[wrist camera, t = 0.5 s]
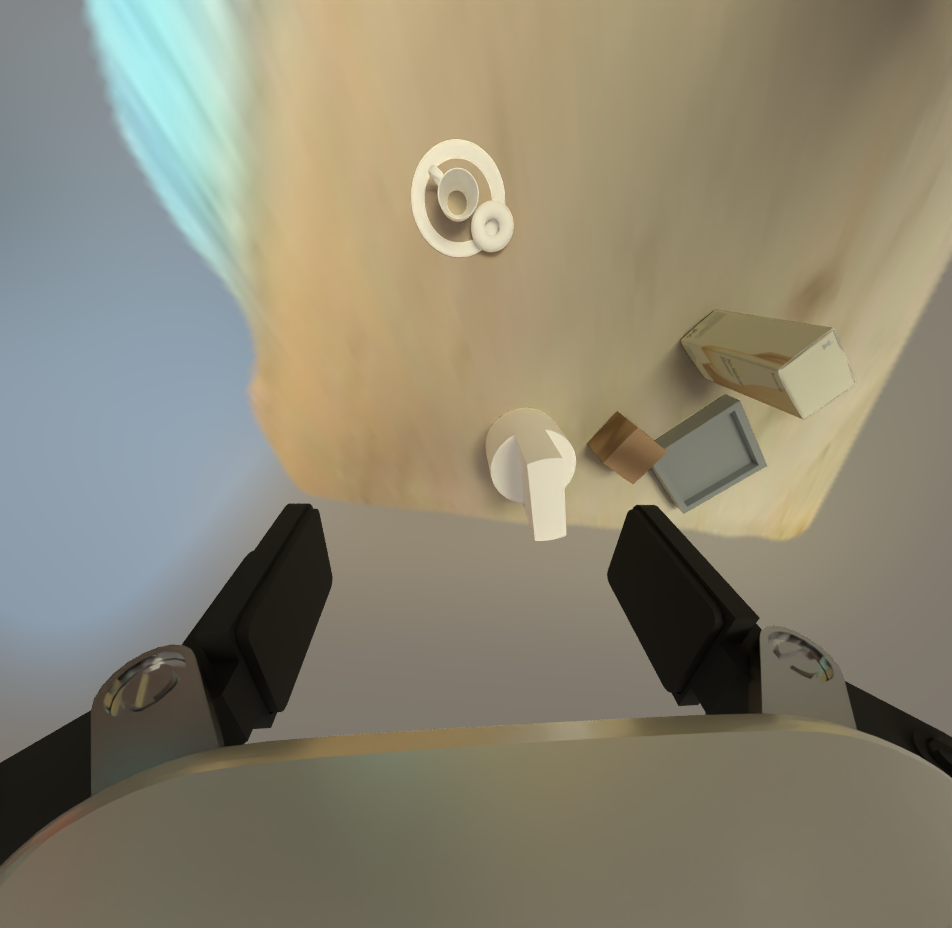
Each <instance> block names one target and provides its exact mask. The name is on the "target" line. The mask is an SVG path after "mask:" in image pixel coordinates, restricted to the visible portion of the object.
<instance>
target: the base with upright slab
mask: <svg viewBox="0 0 952 928" xmlns="http://www.w3.org/2000/svg"><path fill="white" fill-rule="evenodd" d="M485 446H486V455H487V459H488V464H489V469H490V474H491V478H492V481H493V484H494V486H495V487H496V489H497V490H498V491H499V493H501V494H502V495H503V496H505V497H506V498H507V499H510V500H512V501H515V502H519V503H523V505H524V508H525V511H526V514H527V517H528V520H529V523H530V526H531V529H532V532H533V536H534V539H535V541H546V540H553V539H557V538H560V537H563V536H566V516H565V492H564V488H565V487H566V486H567V485H568V483H569V482H570V481H571V479H572V476H573V474H574V472H575V467H576V457H575V451H574V449H573V448H572V446H571V444H570V442H569V441H568V439H567V438H566V437H565V435H564V434H563V432H562V431H561V430H560V428H559V427H558V425H557V424H556V423H555V421H554V420H553V419H552V418H551V417H550V416H549V415H548V414H546V413H545V412H543V411H541V410H538V409H534V408H518V409H515V410H511V411H508V412H507V413H505V414H503V415H502V416H500V417H499V418H498V419H497V420H496V421H495V422H494V423H493V424H492V426H491V428H490V429H489V431H488V433H487V437H486V441H485Z"/></svg>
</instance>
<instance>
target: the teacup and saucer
mask: <svg viewBox="0 0 952 928" xmlns="http://www.w3.org/2000/svg"><path fill="white" fill-rule="evenodd" d="M455 158H459V159H464V160H467V161H470V162H471V163H473V164H474V165H476V166H477V167H478V168H479V169H480V170H481V171H482V173H483V174H484V176H485V178H486V179H487V182H488V184H489V187H490V191H491V198H492V200H491V201H487V202H485V203H483V204H482V205H480V206H479V207H478V208H477V210H476V211H475V209H476V207H477V204H478V199H479V190H478V185H477V183H476V180H475V178H474V177H473V176H472V174H471V173H470V172H468V171H467V170H465V169H463V168H452V169H450V170H448V171H447V172H446V173H445V174H443V173H442V172H441V171H440V170H439V169H438V168H437V166H438V165H440V164H441V163H443V162H444V161H446V160H449V159H455ZM430 176H431V178H432V179H433V180H434V182H435V183H436V184H437V185H438V201H439V204H440V207H441V209H442V211H443V212H444V214H445V215H446V216H447V217H448V218H449V219H451V220H453V221H456V222H461V221H464V220H466V219H467V218H469V217H470V216H471V215H472V214H473V212H474V211H475V213H474V215H473V217H472V221H471V233H472V237H473V239H472V240H469V241H467V242H460V243H458V242H452V241H449V240H447V239H445V238H443V237H442V236H441V235H439V234H438V233H437V232H436V231H435V229H434V228H433V227H432V225H431V223H430V221H429V219H428V216H427V213H426V209H425V200H424V198H425V189H426V185H427V182H428V179H429V177H430ZM453 191H460V192H462V193H463V194H464V195H465V197H466V200H467V207H466V210H465V211H464V213H463V214H461V215H454V214H452V213H451V212H450V210H449V209H448V205H447V200H448V197H449V195H450V194H451V193H452V192H453ZM411 206H412V212H413V216H414V219H415V222H416V224H417V227H418V229H419V231H420V232H421V234H422V236H423V237H424V238H425V240H426V241H427V242H428V243H429V244H430V245H431V246H432V247H433V248H435V249H436V250H437V251H439V252H441V253H443V254H445V255H448V256H451V257H468V256H472V255H474V254H477V253H478V252H480V251H482V250H484V251H486V252H497V251H499V250H501V249H503V248H504V247H505V246H506V245H507V244H508V243H509V241H510V239H511V237H512V235H513V230H514V221H513V217H512V214H511V212H510V210H509V209H508V207H507V206H506V205H505V190H504V185H503V181H502V177H501V175H500V172H499V170H498V168H497V166H496V164H495V163H494V161H493V160H492V158H491V157H490V156H489V155H488V154H487V152H485V151H484V150H483V149H482V148H481V147H479V146H478V145H476V144H474V143H472V142H469V141H466V140H461V139H451V140H446V141H443V142H441V143H439V144H437V145H435V146H434V147H432V148H431V149H430V150H429V151H428V152H427V153H426V154H425V155H424V157H423V158H422V159H421V161H420V163H419V164H418V166H417V169H416V171H415V174H414V177H413V181H412V187H411ZM487 221H488V222H487ZM486 222H487V224H486ZM485 225H486V226H485ZM498 230H499V231H498ZM497 232H498V233H497Z"/></svg>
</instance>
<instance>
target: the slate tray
mask: <svg viewBox="0 0 952 928" xmlns="http://www.w3.org/2000/svg"><path fill="white" fill-rule="evenodd" d="M655 442H656V443H658V444H659V445H660V446H661V447H662V448H664V449H665V450H666V451H667V453H666V454H665V455H664V456H663V457H662V458H661V459H660V460H659V461H657V462H656V463H655V464H654V465H653V466H652V467H651V469H652V470H653V472H654V474H655V475H656V477H657V478H658V480H659V481H660V483H661V484H662V486H663V488H664V489H665V491H666V492H667V494H668V495H669V497H670V498H671V500H672V501H673V503H674V504H675V505H676V506H677V507H678V508H679V509H680V511H681V512H682V513H683V514H684V513H686V512H688V511H689V510H691V509H693V508H695V507H696V506H698V505H700V504H702V503H703V502H705V501H707V500H709V499H710V498H712V497H714V496H715V495H717V494H719V493H721V492H722V491H724V490H726V489H728V488H729V487H731V486H733V485H735V484H736V483H738V482H740V481H742V480H743V479H745V478H747V477H748V476H750V475H752V474H754V473H755V472H757V471H759V470H761V469H762V468H764V467H766V466H767V464H766V462H765V460H764V457H763V455H762V452H761V450H760V448H759V445H758V443H757V441H756V438H755V436H754V433H753V431H752V429H751V426H750V424H749V421H748V419H747V417H746V414H745V412H744V410H743V407H742V405H741V402H740V401H739V400H737V399H735V398H733V397H730V396H728V395H726V394H725V395H724V396H722V397H721V398H719V399H718V400H716V401H715V402H713V403H712V404H710V405H709V406H707V407H705V408H704V409H702V410H701V411H699V412H698V413H696V414H695V415H693V416H692V417H690V418H689V419H687V420H686V421H684V422H683V423H681V424H680V425H678V426H676V427H675V428H673V429H672V430H670V431H669V432H667V433H666V434H664V435H663V436H661V437H660V438H658V439H657V440H655Z"/></svg>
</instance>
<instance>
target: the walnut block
mask: <svg viewBox="0 0 952 928" xmlns="http://www.w3.org/2000/svg"><path fill="white" fill-rule="evenodd" d="M587 444H588V445H589V447H590V448H591V449H592V450H593V452H594V453H595V454H596V455H597V457H598V458H599V459H600V460H601V462H602V463H603V464H605V465H606V466H607V467H609V468H610V469H612V470H613V471H615V472H616V473H617V474H619V475H620V476H622V477H623V478H625V479H626V480H627V481H629V482H630V483H632V484H634V483H635V482H636V481H637V480H638V479H639V478H640V477H641V476H643V475H644V474H645V473H646V472H647V471H648V470H649V469H650V468H651V467H652V466H653V465H654V464H655V463H656V462H657V461H659V460H660V459H661V458H662V457H663V456H664V455H665V454H666V453H667V451H666V450H665V449H664V448H662V447H661V446H660V445H659V444H658V443H656V442H655V441H654V440H653V439H651V438H650V437H649V436H648V435H647V434H645V433H644V432H643V431H642V430H640V429H639V428H638V427H637V426H635V425H634V424H633V423H631V422H630V421H629V420H628V419H626V418H625V417H624V416H623V415H621V414H620V413H619V412H618V411H617V412H616V413H615V414H614V415H613V416H612V417H611V418H610V419H609V420H608V421H607V423H606V424H605V425H604V426H603V427H602V428H601V429H600V430H599V431H598V432H597V433H596V434H595V435H594V436H593V438H592V439H591V440H590V441H589V442H588V443H587Z"/></svg>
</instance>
